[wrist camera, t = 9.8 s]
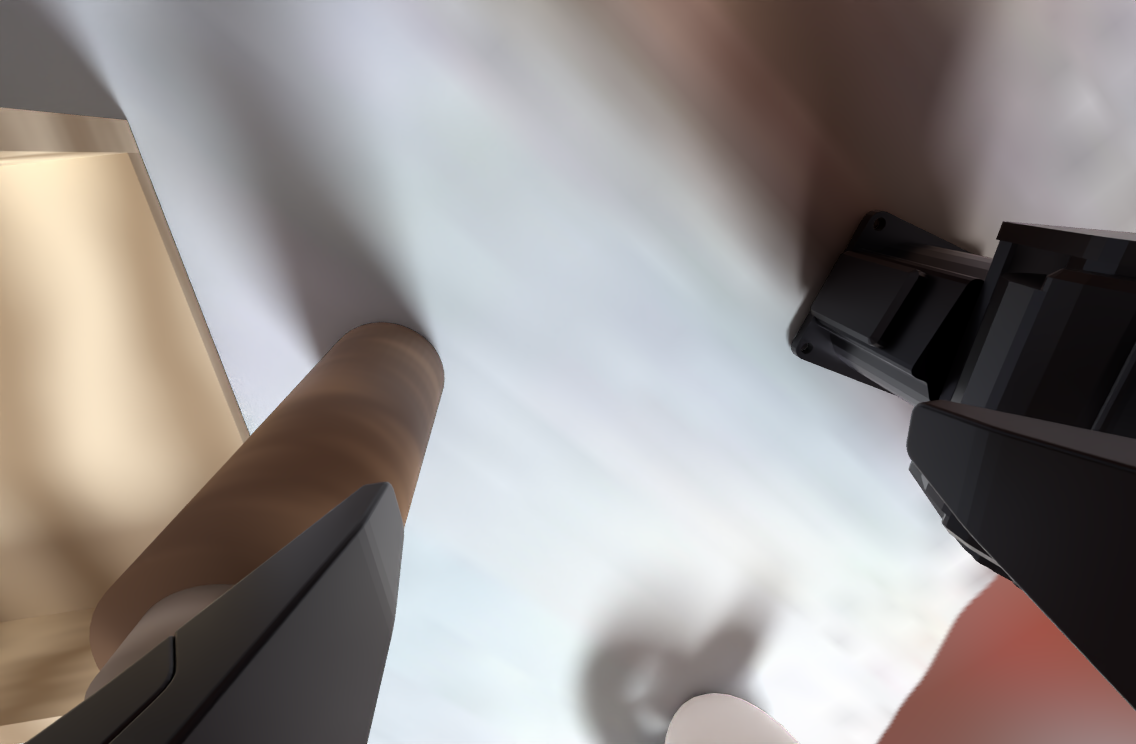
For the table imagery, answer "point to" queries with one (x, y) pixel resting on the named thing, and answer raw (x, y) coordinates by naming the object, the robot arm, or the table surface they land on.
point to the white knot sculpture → (724, 723)
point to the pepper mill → (280, 486)
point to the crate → (89, 396)
